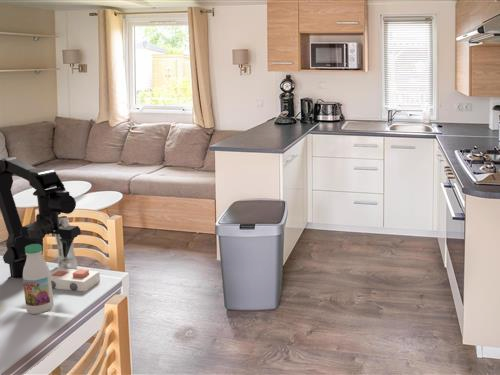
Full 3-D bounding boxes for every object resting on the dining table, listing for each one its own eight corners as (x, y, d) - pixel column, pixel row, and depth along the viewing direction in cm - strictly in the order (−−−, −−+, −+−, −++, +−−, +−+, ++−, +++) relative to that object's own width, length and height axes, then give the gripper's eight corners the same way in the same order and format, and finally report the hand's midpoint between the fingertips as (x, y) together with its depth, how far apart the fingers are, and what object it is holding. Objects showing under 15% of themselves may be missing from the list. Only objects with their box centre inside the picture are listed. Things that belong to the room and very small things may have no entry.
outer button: (73, 278, 179) (72, 273, 178) (79, 274, 182) (79, 269, 182) (82, 279, 178) (82, 274, 177) (89, 275, 181) (88, 270, 181)
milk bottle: (33, 303, 168) (25, 241, 164) (57, 303, 168) (51, 241, 164) (22, 315, 161) (14, 250, 156) (48, 314, 161) (40, 250, 156)
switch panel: (40, 289, 179) (38, 277, 179) (57, 278, 188) (56, 267, 187) (84, 293, 175) (83, 281, 174) (100, 282, 184) (99, 270, 183)
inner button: (52, 279, 181) (51, 274, 181) (59, 275, 184) (58, 270, 184) (61, 280, 180) (61, 275, 180) (68, 276, 183) (67, 271, 183)
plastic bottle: (80, 268, 198) (75, 214, 193) (73, 275, 191) (67, 220, 187) (63, 267, 198) (58, 214, 194) (55, 274, 192) (49, 219, 188)
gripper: (6, 214, 170) (12, 262, 173) (58, 218, 164) (63, 267, 168) (29, 206, 180) (34, 251, 183) (79, 208, 175) (83, 255, 178)
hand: (53, 256), depth 178 cm, fingers open, 9 cm apart
